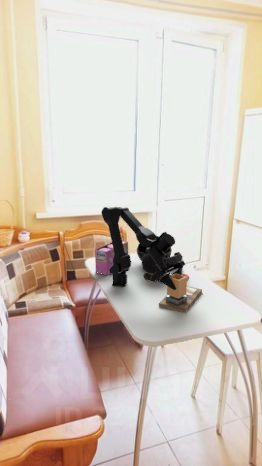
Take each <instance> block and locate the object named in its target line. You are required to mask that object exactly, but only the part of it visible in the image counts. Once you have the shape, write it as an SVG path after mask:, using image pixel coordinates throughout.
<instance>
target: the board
mask: <svg viewBox="0 0 262 466" xmlns="http://www.w3.org/2000/svg"><path fill="white" fill-rule="evenodd" d="M202 292H203V289H202V288H201V289H200V288H198V287H197V288H196V287H191V286H187V290H186V296H187V302H185V303H183V304H182V305H180V306H176V305H173V304H171V303H168V302H166V296H168V295H167V294H166V296H165V297H163V299H162V300H160V301H159V302H158V307H160V308H164V309H169V310H170V311H171V310H173V311H177V312H180V313H184V314H185V313H187V311H188V310H189V309H190V308H191V306H192V305H193V304H194V303H195V301H196V300H197V299H198V298H199V297H200V295H201V294H202Z"/></svg>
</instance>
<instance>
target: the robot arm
mask: <svg viewBox="0 0 262 466" xmlns="http://www.w3.org/2000/svg"><path fill="white" fill-rule="evenodd" d="M101 216H102V219H103V221H104V223H106V225H107V226H108V231H109V235H110V240H111V243H112V245H113V249H114V254H115V255H114V258H113V266H112V267H111V268H110V269H109V271H110V274H111V275H112V284H111V286H112V287H126V285H127V284H128V274H127V272H129V270H130V268H131V267H132V260H131V256H130V254H128V255H127V254H126V253H125V251H124V247H123V243H122V241H123V239H122V235H121V230H120V226H119V222H120V219H122V220H123V222H125V224H126V225H127V226H128V227H129V228H130V229H131V230H132V232H133V233H134V234H135V236H136V237H135V238H136V240H137V242H138V244H139V243H140V245H141V246H143V247H146V246H149V245H152V244H154V243H155V245H152V246H151V247H150V248H146V251H145V255H146V254H150V255H151V257H152V258H153V260H154V261H155V263H154V265H157V266H158V267H159V269H160V270H157V271H156V272H155V273H154V274H152V275H151V279H152V281H151V282H152V283H154V282H157V283H158V282H159V283H161V284H164V285H165V286H166V287H167V286H168V287H170V288H171V289H173V290H176V287H175V285H174V284H173V282H172V280H171V278H170V276H171V275H173V274H175V273H176V274H180V275H182V271H183V268H184V267H185V266H186V263H185V261H184V260H183V259H182V256H183V255H182V253H180V251H177V252H175V253H174V254H173V255H172V256H171V255H170V256H169V255H166V254H165V253H164V252H166V251H167V250H168V249H169V248H170V247H171V248H172V247H173V246H174V245H176V238H175V237H174V236H172V234H169V233H167V231H164V232H162V233H161V234H160V235H156V233H154V231H152V230H151V229H149V228H147V227H145V226H144V225H143V224H142V223H141V222H140V221H139V220H138V218H136V217H135V215H134V214H133V213H132V212H131V211H130V209H129V208H128V207H127V206H119V207H118V206H117V205H110V206H104V207H103V208H102V210H101ZM181 259H182V260H183V261H182V260H181ZM110 274H109V275H110ZM158 278H159V279H160V280H158ZM157 280H158V281H157Z"/></svg>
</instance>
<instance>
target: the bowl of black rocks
mask: <svg viewBox="0 0 262 466" xmlns="http://www.w3.org/2000/svg"><path fill="white" fill-rule="evenodd" d="M152 245H155V243H154V244H152ZM152 245H149V246H146V247H143V246H141V245H140V243H139V242H138V245H137V248H136V255H137V257H138V258H139V260H140V262H142V257H143V256H144V254H145V251H146V248H150V247H151V246H152ZM172 252H173V251H172V247H170V248H169V249H168V250H167V251H166V252H164V253H165V254H166V255H169V256H170V257H171V255H172Z"/></svg>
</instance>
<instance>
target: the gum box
mask: <svg viewBox="0 0 262 466" xmlns="http://www.w3.org/2000/svg"><path fill="white" fill-rule="evenodd" d="M122 243H123V247H124V251H125V253H126V254H127V255H129V241H127V240H126V241H123V240H122ZM94 251H95V252H94V253H95V257H94V258H95V273H96V272H98V273H102V274H105V275H104V276H108V274H109V275H110V271H109V269H110V268H111V267H112V266H113V258H114V255H115V254H114V249H113V245H112V242H110V243H108V244H105V245H103V246H100V247H98V248H96V249H95V250H94ZM98 273H97V274H98ZM102 274H101V275H102Z"/></svg>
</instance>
